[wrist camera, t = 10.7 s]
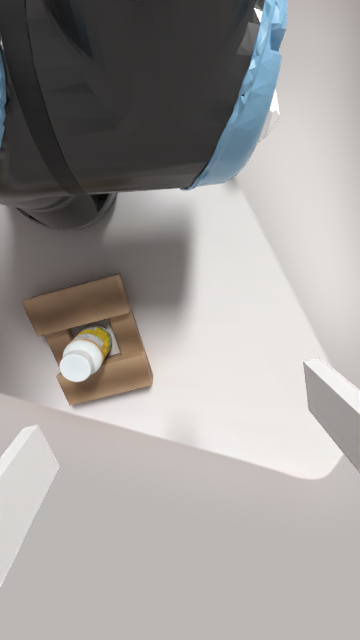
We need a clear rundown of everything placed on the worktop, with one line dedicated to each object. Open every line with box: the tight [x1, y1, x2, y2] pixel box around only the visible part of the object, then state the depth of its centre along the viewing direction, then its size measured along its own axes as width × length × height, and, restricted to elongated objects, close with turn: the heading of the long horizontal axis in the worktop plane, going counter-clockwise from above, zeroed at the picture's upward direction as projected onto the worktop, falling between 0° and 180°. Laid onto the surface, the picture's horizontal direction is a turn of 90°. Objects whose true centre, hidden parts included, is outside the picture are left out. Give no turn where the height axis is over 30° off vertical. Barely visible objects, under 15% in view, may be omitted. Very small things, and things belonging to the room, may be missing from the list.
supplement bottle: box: [59, 325, 112, 382], centre depth 37 cm, size 5×5×10 cm
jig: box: [22, 274, 153, 405], centre depth 40 cm, size 18×14×3 cm
